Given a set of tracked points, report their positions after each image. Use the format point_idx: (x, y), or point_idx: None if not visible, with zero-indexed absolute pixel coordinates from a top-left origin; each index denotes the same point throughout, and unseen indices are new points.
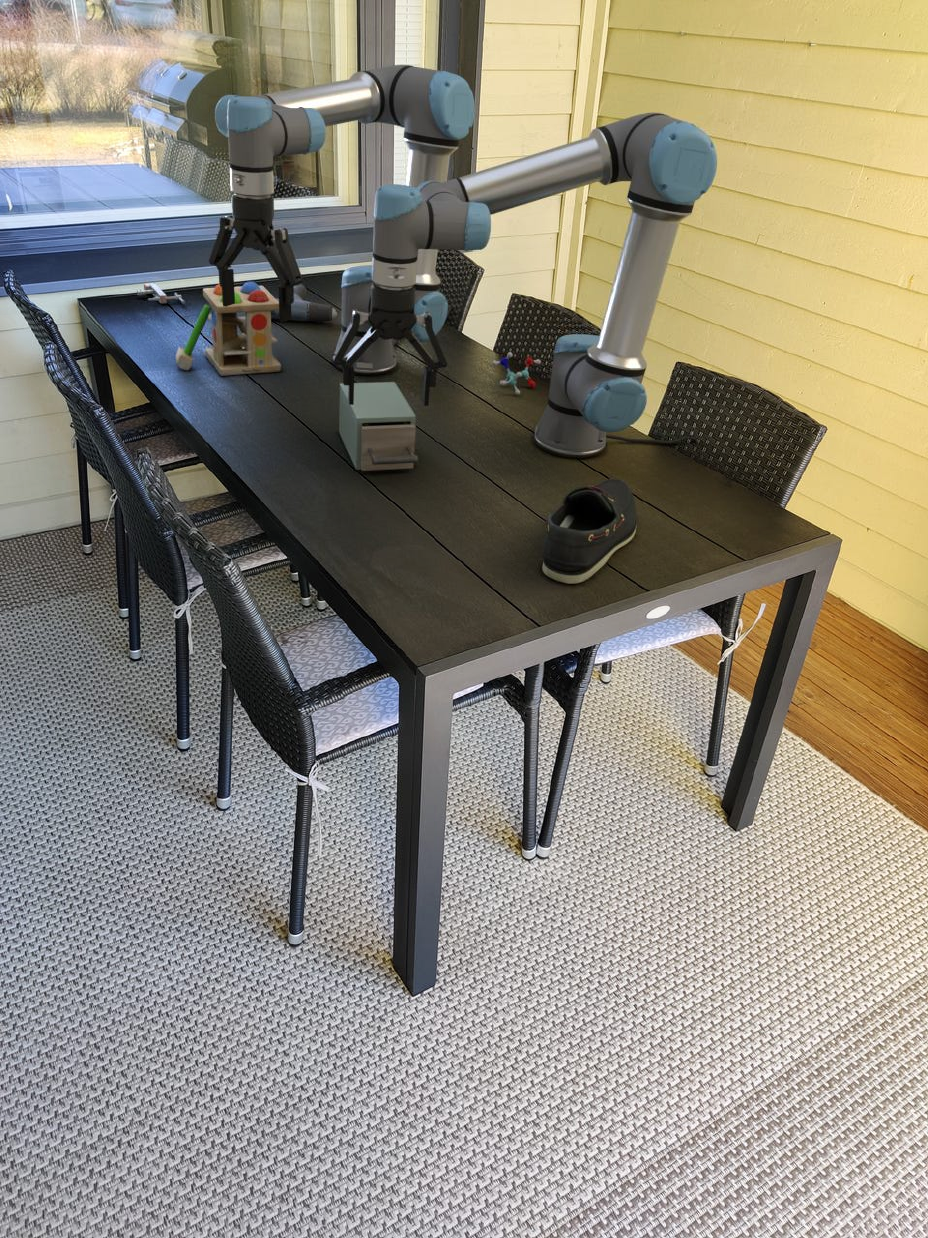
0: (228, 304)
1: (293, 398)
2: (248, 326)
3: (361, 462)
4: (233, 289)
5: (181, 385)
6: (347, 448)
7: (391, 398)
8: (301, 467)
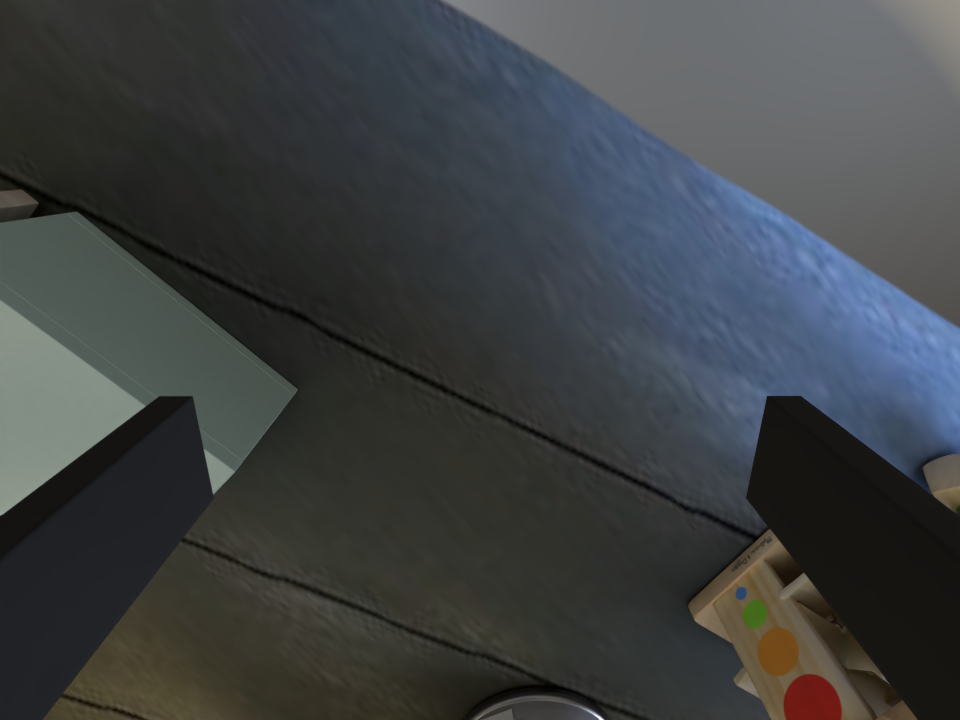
0: (765, 431)
1: (550, 492)
2: (833, 671)
3: (8, 196)
4: (813, 570)
5: (885, 371)
6: (187, 305)
7: (6, 474)
8: (201, 114)
